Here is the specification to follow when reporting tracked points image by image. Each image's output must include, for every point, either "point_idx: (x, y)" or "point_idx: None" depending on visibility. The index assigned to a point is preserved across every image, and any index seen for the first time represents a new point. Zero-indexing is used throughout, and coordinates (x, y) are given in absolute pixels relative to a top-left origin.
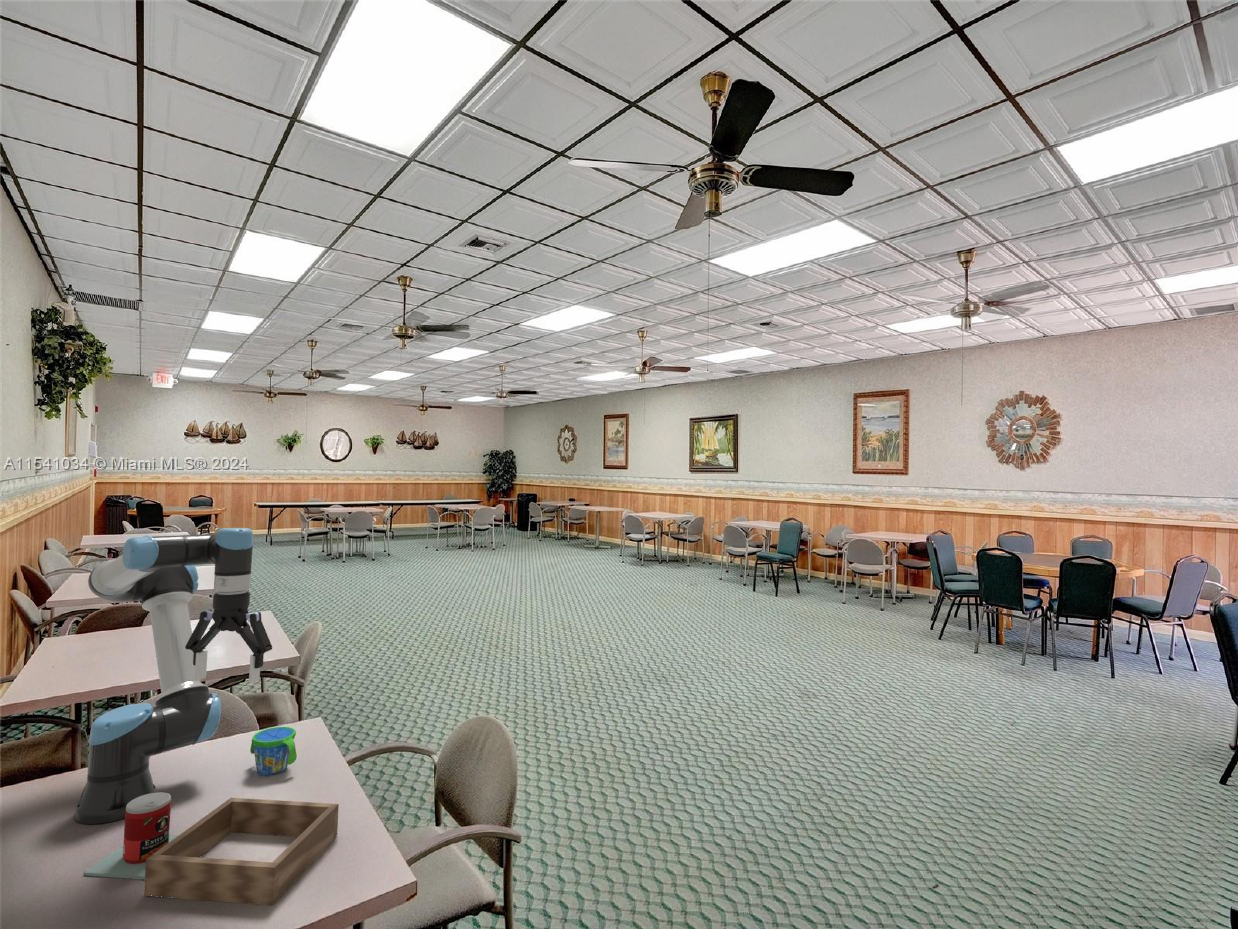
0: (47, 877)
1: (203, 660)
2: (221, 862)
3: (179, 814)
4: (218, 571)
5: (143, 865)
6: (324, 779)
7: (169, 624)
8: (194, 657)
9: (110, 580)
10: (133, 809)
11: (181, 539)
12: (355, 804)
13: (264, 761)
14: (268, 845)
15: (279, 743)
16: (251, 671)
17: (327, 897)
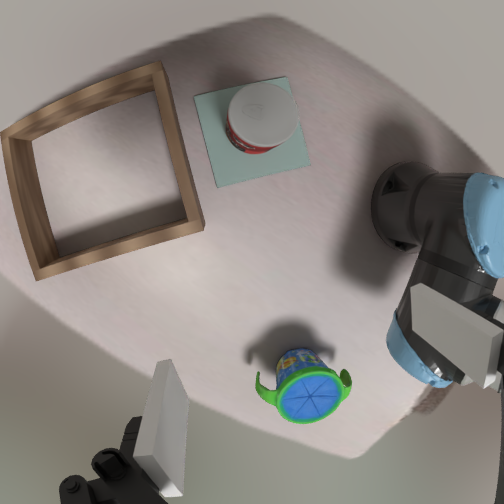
0: (323, 66)
1: (459, 347)
2: (58, 103)
3: (315, 224)
4: None
5: (227, 109)
6: (197, 376)
7: None
8: (496, 324)
9: None
10: (261, 86)
11: None
12: (97, 337)
13: (295, 359)
14: (113, 214)
15: (280, 386)
16: (153, 394)
17: None
